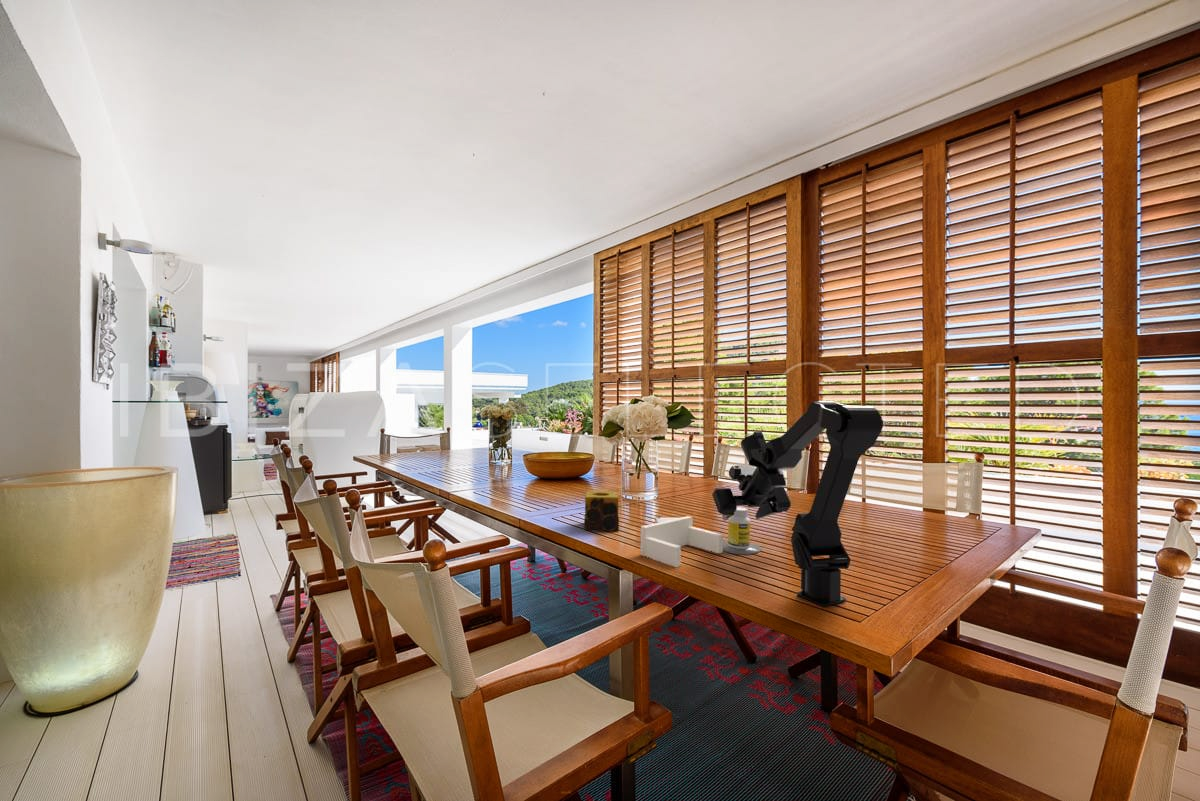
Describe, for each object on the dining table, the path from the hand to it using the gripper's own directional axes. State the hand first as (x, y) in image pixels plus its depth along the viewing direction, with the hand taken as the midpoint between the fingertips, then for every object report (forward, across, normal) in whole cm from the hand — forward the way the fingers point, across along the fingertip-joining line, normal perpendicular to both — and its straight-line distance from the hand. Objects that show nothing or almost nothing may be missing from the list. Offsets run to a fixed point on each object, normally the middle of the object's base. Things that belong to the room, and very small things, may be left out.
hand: (740, 518), depth 129 cm
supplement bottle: (+6, 0, +5) cm, 8 cm away
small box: (+14, +14, -3) cm, 21 cm away
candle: (+25, +30, -14) cm, 42 cm away
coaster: (+6, 0, +5) cm, 8 cm away
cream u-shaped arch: (+4, +16, +7) cm, 18 cm away
